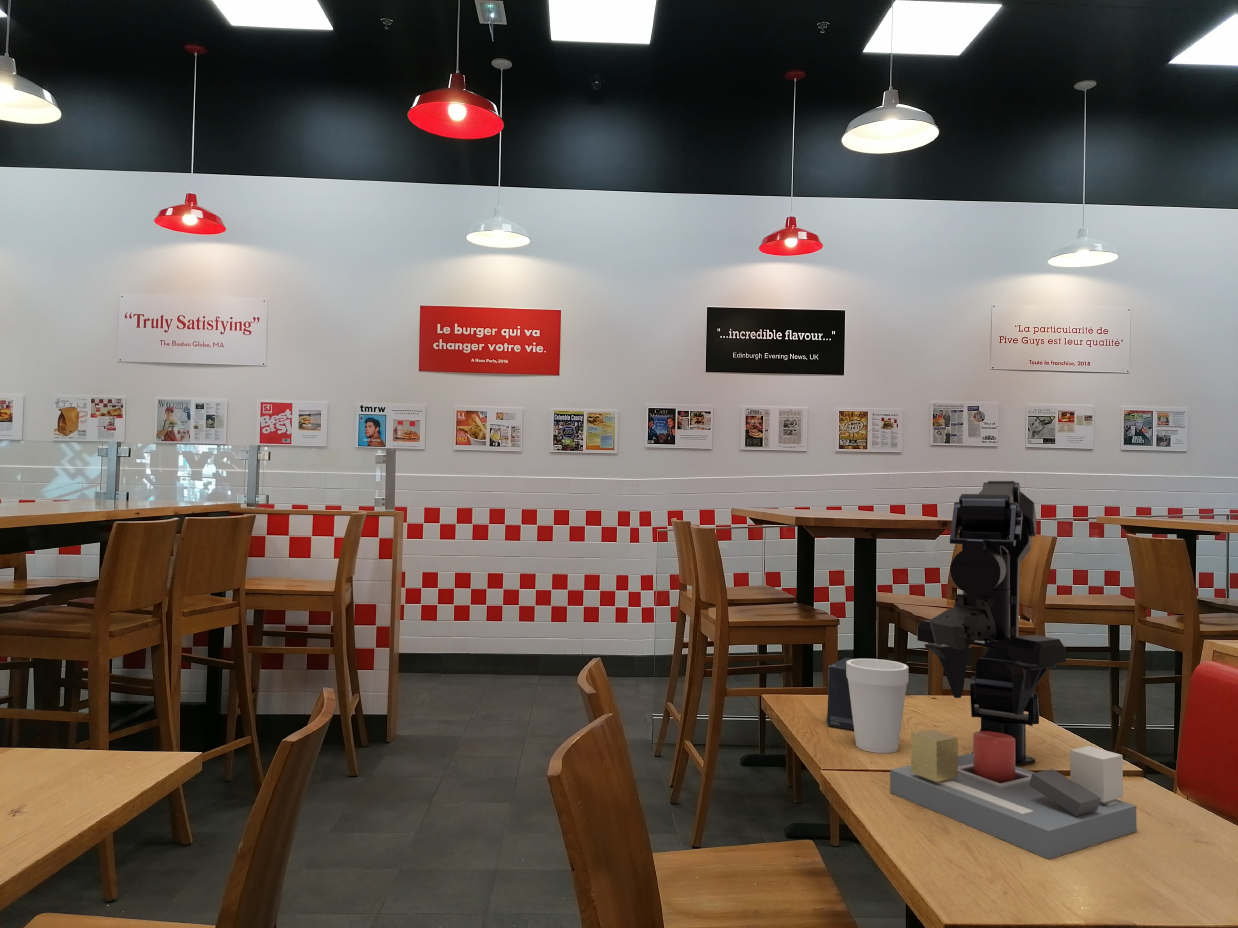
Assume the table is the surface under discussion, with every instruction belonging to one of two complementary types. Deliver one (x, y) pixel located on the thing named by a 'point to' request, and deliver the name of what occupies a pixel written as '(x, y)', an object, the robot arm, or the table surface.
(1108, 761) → the ivory slider
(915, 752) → the brass slider
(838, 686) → the small box
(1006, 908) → the table surface
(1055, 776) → the block
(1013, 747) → the red button
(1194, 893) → the table surface
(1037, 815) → the panel
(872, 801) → the table surface
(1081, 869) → the table surface
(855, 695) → the foam cup
